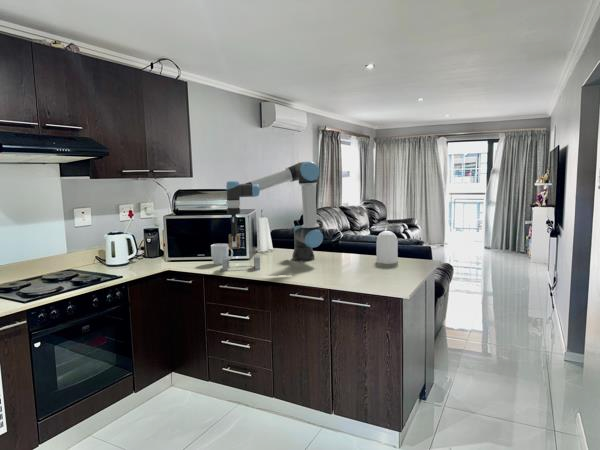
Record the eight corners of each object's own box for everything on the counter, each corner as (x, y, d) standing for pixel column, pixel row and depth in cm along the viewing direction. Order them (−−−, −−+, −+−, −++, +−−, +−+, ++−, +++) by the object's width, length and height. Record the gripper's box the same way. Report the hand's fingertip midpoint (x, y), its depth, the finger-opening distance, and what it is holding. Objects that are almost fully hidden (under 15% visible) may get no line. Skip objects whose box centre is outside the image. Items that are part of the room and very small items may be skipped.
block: (239, 247, 251) (239, 234, 250) (239, 248, 245) (239, 235, 244) (229, 247, 250) (229, 234, 249) (229, 249, 244) (228, 235, 244)
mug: (228, 261, 278) (228, 242, 276) (237, 263, 270) (236, 244, 268) (208, 264, 269) (207, 244, 267) (216, 267, 260) (215, 246, 259)
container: (372, 261, 269) (372, 230, 266) (387, 258, 276) (387, 228, 274) (386, 264, 257) (387, 232, 255) (402, 261, 265) (402, 230, 262)
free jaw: (260, 266, 254) (259, 255, 254) (260, 269, 246) (259, 257, 245) (254, 266, 254) (254, 255, 253) (254, 269, 246) (254, 257, 245)
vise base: (261, 267, 256) (261, 265, 256) (262, 272, 245) (261, 269, 244) (220, 269, 254) (220, 267, 254) (219, 274, 242) (219, 271, 242)
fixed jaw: (229, 268, 252) (229, 256, 252) (228, 271, 244) (228, 259, 243) (223, 268, 252) (223, 257, 251) (222, 271, 244) (222, 259, 243)
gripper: (228, 206, 254) (229, 243, 257) (225, 208, 235) (227, 248, 238) (240, 206, 255) (241, 243, 257) (239, 208, 236) (240, 248, 239)
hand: (234, 245), depth 248 cm, fingers closed on block, 6 cm apart
